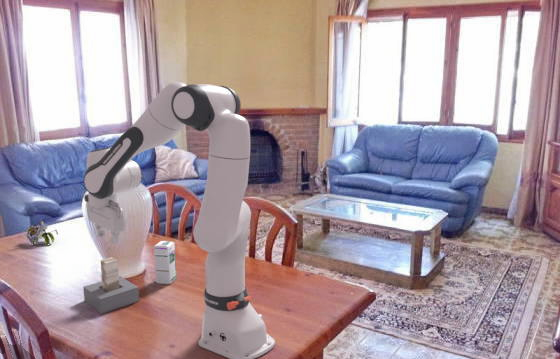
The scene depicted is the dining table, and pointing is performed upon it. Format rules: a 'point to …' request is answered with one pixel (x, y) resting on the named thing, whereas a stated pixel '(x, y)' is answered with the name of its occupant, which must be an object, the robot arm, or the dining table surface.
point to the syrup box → (165, 262)
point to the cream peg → (109, 274)
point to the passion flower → (39, 233)
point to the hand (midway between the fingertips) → (107, 239)
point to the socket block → (111, 296)
